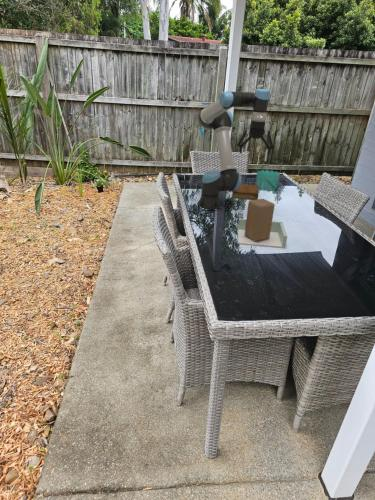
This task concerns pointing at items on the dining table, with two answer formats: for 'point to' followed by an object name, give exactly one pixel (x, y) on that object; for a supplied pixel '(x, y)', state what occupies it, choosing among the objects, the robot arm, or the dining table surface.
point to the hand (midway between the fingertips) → (253, 160)
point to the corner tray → (275, 239)
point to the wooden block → (259, 219)
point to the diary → (246, 192)
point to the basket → (267, 180)
